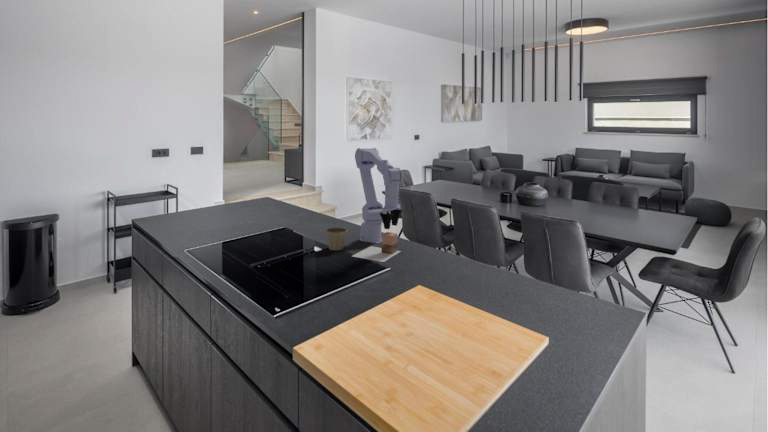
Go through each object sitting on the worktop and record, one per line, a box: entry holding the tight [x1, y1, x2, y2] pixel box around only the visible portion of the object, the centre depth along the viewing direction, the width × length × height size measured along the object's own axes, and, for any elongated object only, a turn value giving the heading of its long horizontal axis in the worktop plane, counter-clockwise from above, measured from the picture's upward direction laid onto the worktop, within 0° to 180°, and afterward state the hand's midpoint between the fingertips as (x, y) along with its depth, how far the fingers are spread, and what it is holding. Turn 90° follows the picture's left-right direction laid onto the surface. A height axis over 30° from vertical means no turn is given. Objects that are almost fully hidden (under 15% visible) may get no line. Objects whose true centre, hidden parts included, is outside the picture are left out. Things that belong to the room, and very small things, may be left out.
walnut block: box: [381, 242, 398, 254], centre depth 184 cm, size 5×5×4 cm
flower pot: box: [324, 227, 348, 251], centre depth 187 cm, size 9×9×9 cm
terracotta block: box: [381, 231, 399, 245], centre depth 183 cm, size 5×5×4 cm
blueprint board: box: [352, 245, 402, 263], centre depth 182 cm, size 15×17×1 cm
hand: (390, 227), depth 187 cm, fingers open, 7 cm apart
